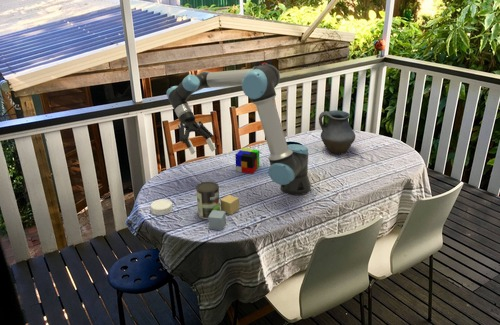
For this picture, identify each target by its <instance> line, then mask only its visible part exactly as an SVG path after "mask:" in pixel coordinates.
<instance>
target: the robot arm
mask: <svg viewBox="0 0 500 325" xmlns="http://www.w3.org/2000/svg"><path fill="white" fill-rule="evenodd" d="M280 77H281V75H280V71H279V69H277V68H276V66H274V65H272V64H269V63H268V64H263V65H255V66H253V67H252V68H246V69H234V70H225V71H223V70H221V71H212V72H210V71H201V72H200V73H198V74H191V73H190V74H188V75H187V76H185V77H184V78H183V79H182V81H181V82H180V83H179V84H178V85H174V86H170V88H168V89H167V90H166V96H167V100H168V101H169V103H170V105H171V106H172V109H173V111H174V112H175V115H176V116H177V118H178V121H179V122H180V123H179V124H178V125H177V127H178V130H179V142H180V143H181V142H182V144H185V146H186V147H187V149H188V150H189V152H190V154H191V155H193V154H195V153H196V151H197V150H196V149H195V147H194V145H193V143H192V141H191V139H189V138H190V137H189V136H190V133H194V132H195V133H198V134H199V135H200V136H201V137H203V138H204V139H205V141H206V144H207V145H208V147H209V149H210V151H211V152H214V151H215V150H216V146H215V144H214V141H213V139H212V137H214V134H213V133H212V132H211V131H210V130H209V129H208V128H207V127H206V126H205V125H204V123H203V122H202V121H201V120H200V121H198V122H197V121H196V116H195V115H194V112H193V111H192V109H191V107H190V105H189V103H188V101H187V100H188V99H189V98H190V97H191V96H192V95H193V94H195V93H196V92H199V91H201V90H203V89H209V88H222V87H223V88H225V87H238V86H241V89H242V92H243V94H244V95H245V96H247V97H248V98H249V99H250V102H251V104H253V105H255V107H256V111H257V114H258V116H259V120H260V124H261V127H262V130H263V133H264V136H265V140H266V143H267V146H268V150H269V154H270V155H269V156H268V161H269V164H270V166H269V168H268V177H269V178H270V180H271V181H272V182H274V183H276V184H277V185H280V190H281V191H282V192H283V194H287V195H291V196H302V195H305V194H308V193H309V192H310V191H311V186H312V185H311V181H310V178H309V176H308V173H309V172H308V170H309V169H308V168H309V166H308V164H309V149H308V147H307V146H305V145H303V144H297V143H296V144H294V143H293V144H291V143H290V144H288V143H287V139H286V136H285V132H284V129H283V125H282V122H281V119H280V118H281V117H280V115H279V111H278V108H277V105H276V102H275V98H276V96H277V93H276V90H275V88H276V87H277V86H278V84H279V83H280V80H281V78H280Z"/></svg>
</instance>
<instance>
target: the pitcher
mask: <svg viewBox="0 0 500 325" xmlns="http://www.w3.org/2000/svg"><path fill="white" fill-rule="evenodd" d="M324 117H327V123H326V125H325V124H324V123H323V118H324ZM350 117H351V114H350V113H349V112H347V111H343V110H336V109H335V110H334V109H333V110H329V111H327V110H325V111H322V112H321V113H320V114H319V116H318V124H319V127H320V128H321V133H320V139H321V141H322V142H323V145H324V147H325V148H326V150H327V151H328V153H330V154H331V155H344V154H345V153H347V152H348V150H350V147H351V146H352V144H353V143H354V141H355V140H356V134H355V131H354V130H353V128H352V126H351V124H350V122H349V119H350Z"/></svg>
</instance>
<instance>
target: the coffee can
mask: <svg viewBox="0 0 500 325" xmlns="http://www.w3.org/2000/svg"><path fill="white" fill-rule="evenodd" d="M219 188H220V186H219V184H218V183H217V182H214V181H203V182H199V183H198V184H197V185H196V186H195V191H196V202H197V203H196V204H197V212H198V213H197V215H198V217H199V218H200V219H202V220H208V217H209V215H210V213H211V212H212V210H217V211H221V203H220V189H219Z"/></svg>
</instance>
